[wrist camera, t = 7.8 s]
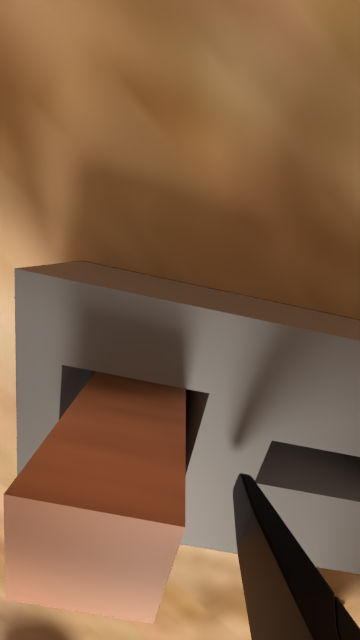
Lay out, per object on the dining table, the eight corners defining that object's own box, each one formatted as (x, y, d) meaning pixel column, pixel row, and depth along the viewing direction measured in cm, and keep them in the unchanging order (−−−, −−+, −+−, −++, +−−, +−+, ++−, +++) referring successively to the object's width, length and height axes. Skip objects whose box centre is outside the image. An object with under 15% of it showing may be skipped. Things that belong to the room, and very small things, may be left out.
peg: (172, 406, 15) (152, 623, 6) (111, 394, 15) (5, 600, 6) (185, 352, 14) (184, 527, 5) (120, 338, 13) (3, 494, 5)
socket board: (316, 481, 16) (370, 576, 12) (69, 435, 16) (18, 517, 11) (398, 328, 13) (524, 375, 8) (81, 260, 12) (14, 268, 7)
